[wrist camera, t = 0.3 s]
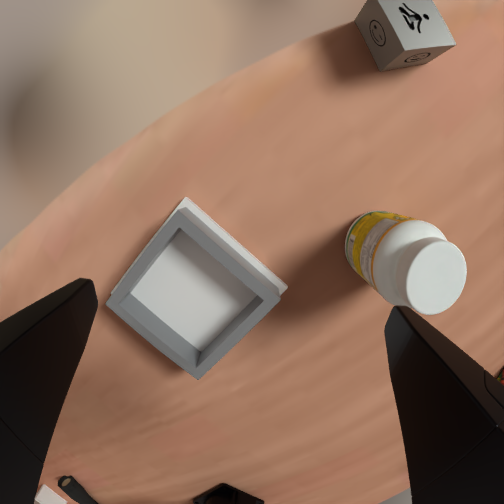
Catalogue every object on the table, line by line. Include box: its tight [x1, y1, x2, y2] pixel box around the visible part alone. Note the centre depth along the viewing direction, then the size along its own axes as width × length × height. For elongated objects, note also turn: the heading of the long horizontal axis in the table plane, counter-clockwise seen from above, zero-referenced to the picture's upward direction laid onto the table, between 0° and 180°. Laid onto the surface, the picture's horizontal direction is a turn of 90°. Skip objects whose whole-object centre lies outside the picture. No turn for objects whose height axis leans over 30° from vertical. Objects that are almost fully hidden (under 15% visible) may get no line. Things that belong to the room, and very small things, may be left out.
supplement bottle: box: [345, 211, 467, 315], centre depth 19 cm, size 5×5×10 cm
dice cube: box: [354, 0, 456, 72], centre depth 18 cm, size 5×5×5 cm
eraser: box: [35, 484, 67, 504], centre depth 31 cm, size 1×5×4 cm, turn 40°
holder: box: [106, 197, 288, 380], centre depth 23 cm, size 10×10×3 cm
